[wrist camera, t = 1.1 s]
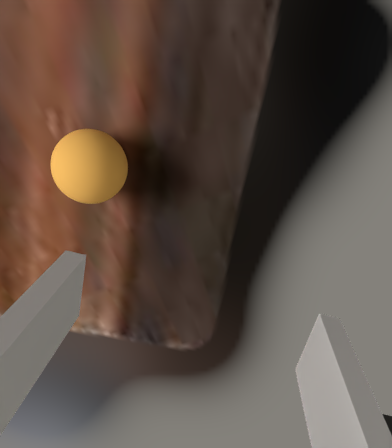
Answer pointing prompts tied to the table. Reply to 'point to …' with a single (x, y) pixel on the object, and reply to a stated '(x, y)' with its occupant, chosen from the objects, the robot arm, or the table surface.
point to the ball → (89, 166)
